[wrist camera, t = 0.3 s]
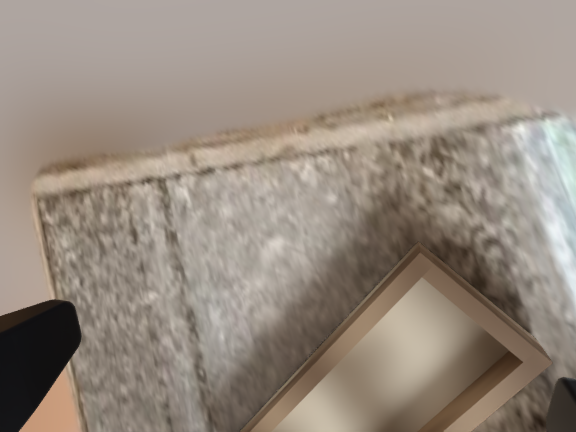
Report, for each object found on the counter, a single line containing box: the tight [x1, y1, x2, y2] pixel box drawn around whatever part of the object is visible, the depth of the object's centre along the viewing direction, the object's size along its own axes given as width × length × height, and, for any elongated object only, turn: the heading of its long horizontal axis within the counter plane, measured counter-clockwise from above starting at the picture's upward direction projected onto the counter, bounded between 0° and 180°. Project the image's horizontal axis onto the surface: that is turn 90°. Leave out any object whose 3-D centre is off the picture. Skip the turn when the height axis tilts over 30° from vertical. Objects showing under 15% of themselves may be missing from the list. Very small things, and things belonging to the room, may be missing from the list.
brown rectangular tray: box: [240, 242, 553, 432], centre depth 22 cm, size 17×7×2 cm, turn 142°
